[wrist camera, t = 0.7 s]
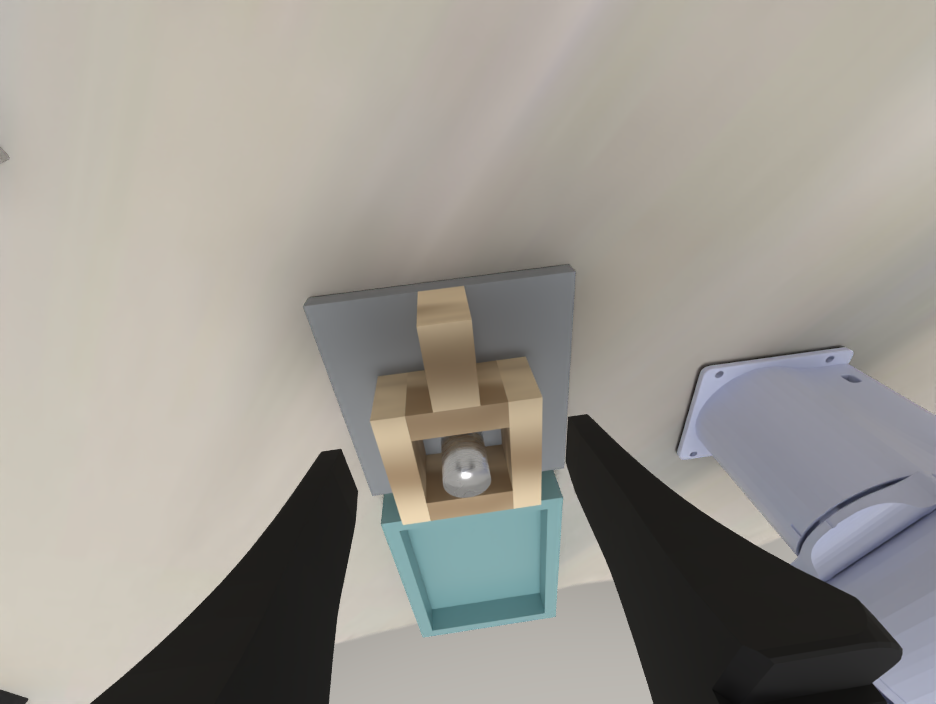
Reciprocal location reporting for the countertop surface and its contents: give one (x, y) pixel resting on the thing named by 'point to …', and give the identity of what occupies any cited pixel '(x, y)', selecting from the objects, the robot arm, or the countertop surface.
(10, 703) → the ammunition clip
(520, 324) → the board
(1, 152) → the test tube rack
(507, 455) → the maple collar
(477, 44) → the countertop surface
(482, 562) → the tray
